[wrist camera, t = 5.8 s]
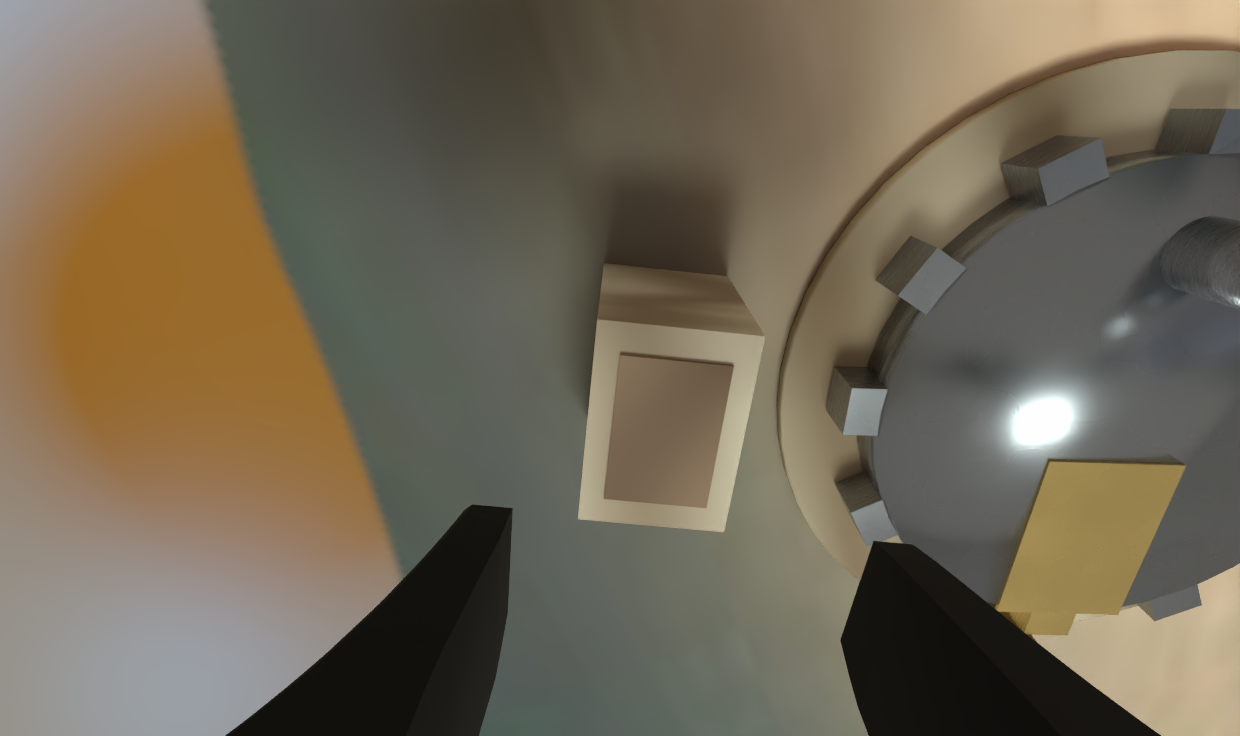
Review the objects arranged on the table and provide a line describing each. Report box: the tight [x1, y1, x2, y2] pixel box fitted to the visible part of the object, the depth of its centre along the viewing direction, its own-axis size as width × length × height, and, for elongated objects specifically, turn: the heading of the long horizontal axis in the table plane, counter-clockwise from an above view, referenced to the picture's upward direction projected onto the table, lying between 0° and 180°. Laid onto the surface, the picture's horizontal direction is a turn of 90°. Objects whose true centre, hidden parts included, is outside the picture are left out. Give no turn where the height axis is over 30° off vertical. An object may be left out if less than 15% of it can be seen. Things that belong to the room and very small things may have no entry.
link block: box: [578, 263, 765, 532], centre depth 16 cm, size 4×5×5 cm
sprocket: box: [826, 109, 1240, 635], centre depth 15 cm, size 15×15×6 cm
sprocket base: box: [777, 50, 1240, 641], centre depth 17 cm, size 18×18×3 cm
